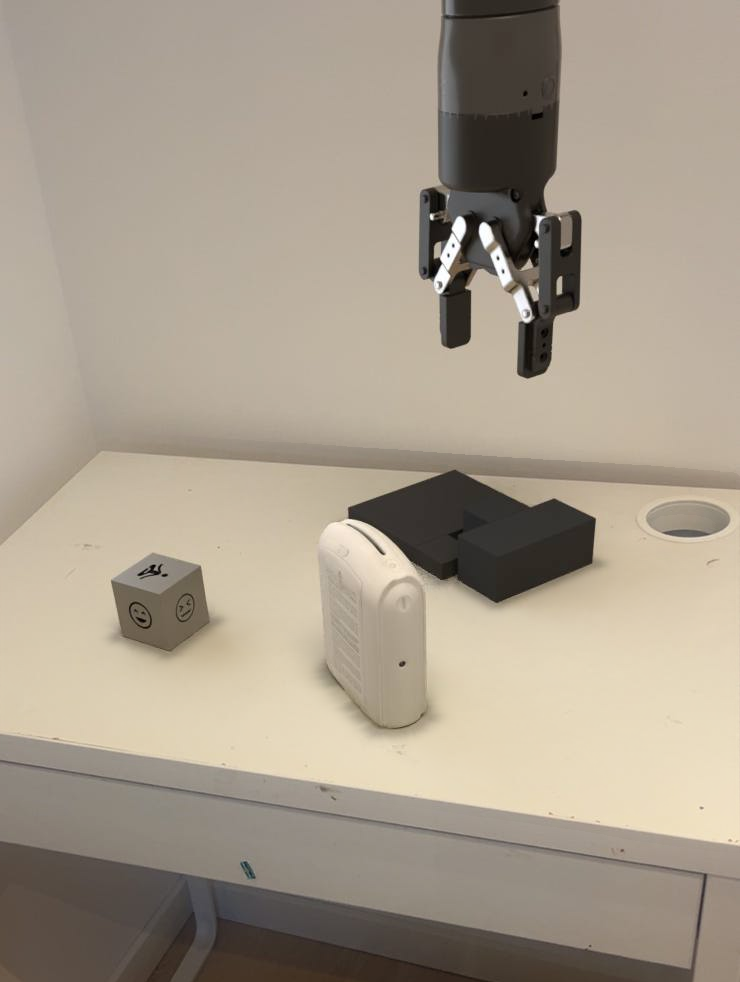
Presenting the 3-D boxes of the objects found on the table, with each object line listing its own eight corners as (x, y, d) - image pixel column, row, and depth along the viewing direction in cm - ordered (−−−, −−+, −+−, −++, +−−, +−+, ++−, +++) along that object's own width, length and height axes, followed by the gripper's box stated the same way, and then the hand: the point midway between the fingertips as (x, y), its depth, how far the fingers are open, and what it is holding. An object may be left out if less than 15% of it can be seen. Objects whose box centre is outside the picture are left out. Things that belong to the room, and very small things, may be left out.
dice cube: (162, 607, 96) (152, 552, 93) (209, 621, 93) (200, 565, 90) (122, 635, 93) (110, 580, 90) (169, 651, 90) (159, 594, 87)
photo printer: (436, 718, 80) (434, 556, 73) (380, 737, 79) (372, 574, 71) (370, 650, 88) (362, 497, 80) (319, 666, 87) (305, 512, 79)
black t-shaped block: (524, 527, 101) (526, 484, 99) (592, 563, 95) (596, 518, 93) (431, 563, 98) (431, 520, 95) (496, 602, 92) (497, 557, 89)
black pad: (454, 484, 109) (454, 469, 108) (555, 535, 99) (556, 519, 99) (348, 522, 105) (347, 507, 104) (442, 580, 95) (442, 563, 94)
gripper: (383, 97, 76) (392, 349, 86) (526, 118, 66) (516, 400, 76) (474, 78, 79) (472, 325, 89) (625, 95, 69) (603, 371, 79)
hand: (493, 359), depth 82 cm, fingers open, 8 cm apart
